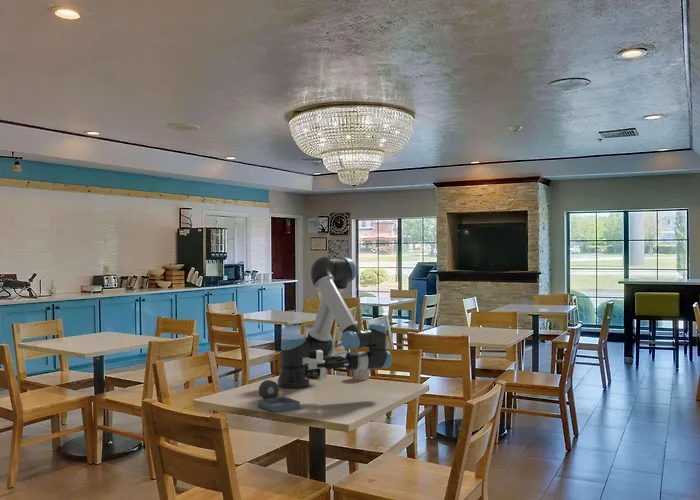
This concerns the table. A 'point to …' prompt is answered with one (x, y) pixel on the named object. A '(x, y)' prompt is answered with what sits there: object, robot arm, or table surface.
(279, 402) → the tray
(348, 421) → the table surface
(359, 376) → the teacup with lid
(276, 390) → the disc
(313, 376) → the medicine bottle
